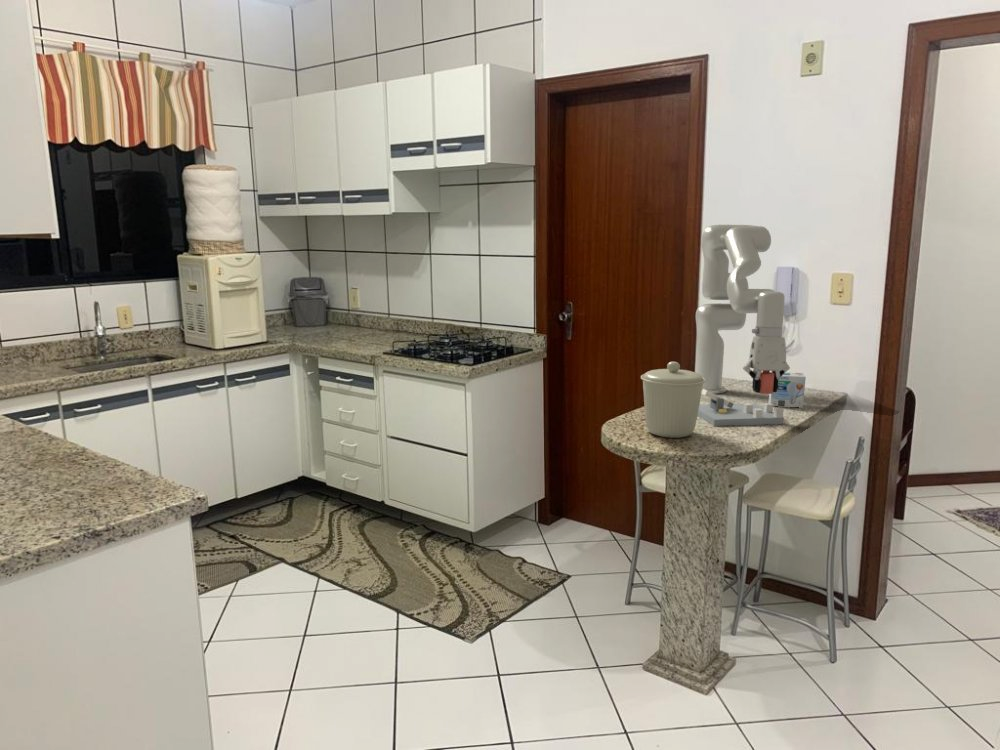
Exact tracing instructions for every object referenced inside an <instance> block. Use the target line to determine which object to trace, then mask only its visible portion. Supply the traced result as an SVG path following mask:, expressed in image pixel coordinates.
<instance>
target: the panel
mask: <svg viewBox="0 0 1000 750" xmlns="http://www.w3.org/2000/svg"><path fill="white" fill-rule="evenodd" d="M716 395H717V396H719V395H718V394H716ZM724 399H725V398H723V397H721V398H717V401H715V400H713V399H711V398H710V399H709V400H710V401H709V404H700V405H699V410H698V416H697V417H698V418H700V419H702V418H703V419H702V420H703V421H705V420H706V421H705V422H707V423H708V422H709V423H708V424H709V425H711V424H712V425H711V426H713V425H714V426H713V427H725V426H726V427H727V425H729V426H730V425H734V426H759V425H760V426H763V424H768V425H784V419H785V418H784V409H783V408H782V407H774V406H773V404H771V403H769V402H765V403H763V406H761V405H759V404H757V403H756V402H755V403H752V402H751V403H733V406H732V408H730V407H727V406H726V405H724ZM730 427H731V426H730Z"/></svg>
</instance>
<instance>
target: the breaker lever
mask: <svg viewBox="0 0 1000 750" xmlns="http://www.w3.org/2000/svg"><path fill="white" fill-rule="evenodd" d="M701 395H703V396H705V397H707V398H709V399H710V400H711V399H713V400H715V401H717V398H722V397H721V396H719V395H718V394H713V393H711V392H709V391H707V390H705V389H703V390H702V393H701ZM717 395H718V396H717ZM723 399H724V405H726V406H727V407H730V408H732V406H733V404H734V403H733V402H731V401H730V400H728V399H725V398H723Z"/></svg>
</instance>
